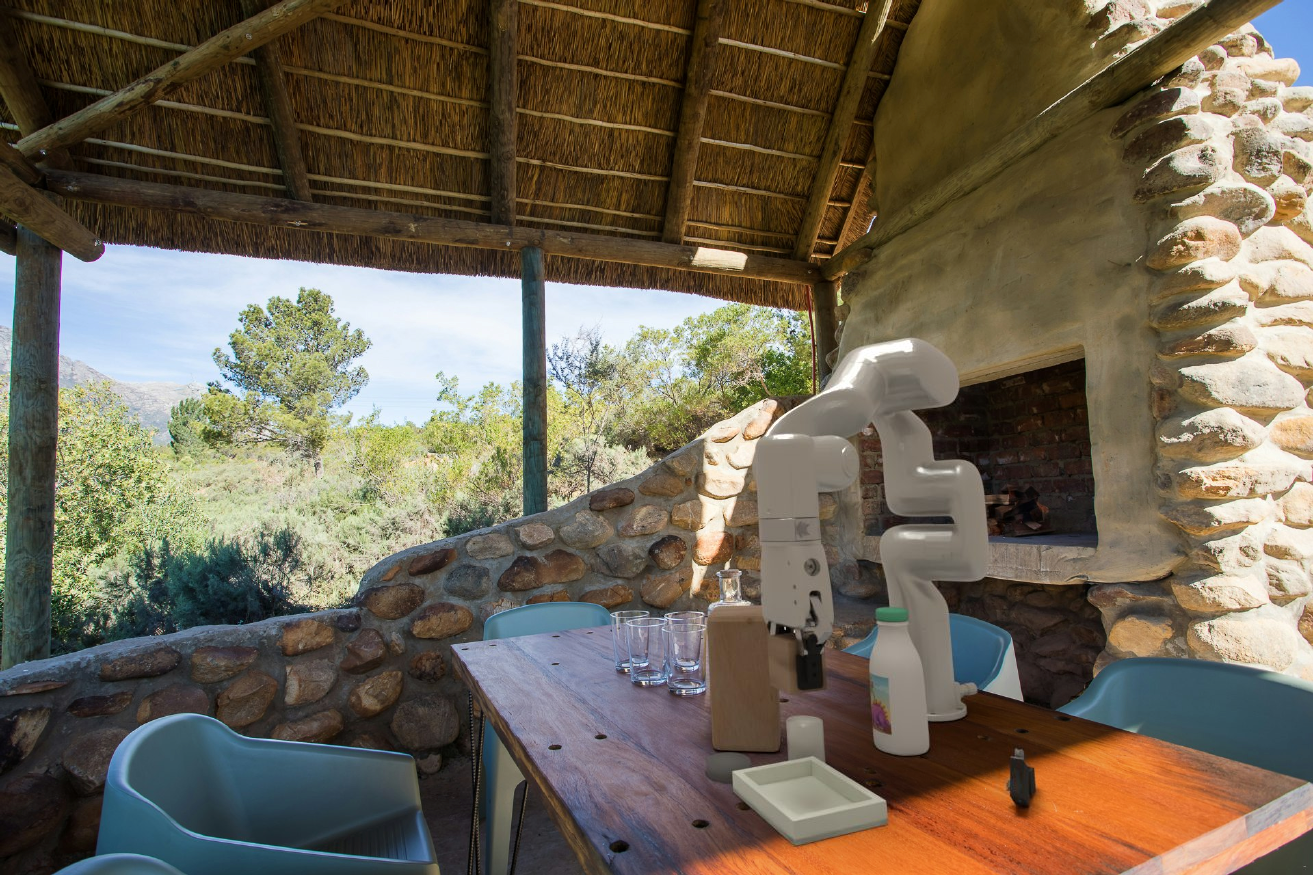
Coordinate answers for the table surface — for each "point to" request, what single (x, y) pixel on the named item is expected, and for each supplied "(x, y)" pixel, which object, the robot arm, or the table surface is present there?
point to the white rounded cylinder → (805, 737)
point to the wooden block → (741, 681)
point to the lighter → (1020, 780)
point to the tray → (809, 800)
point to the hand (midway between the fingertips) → (797, 681)
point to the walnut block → (787, 663)
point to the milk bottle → (897, 687)
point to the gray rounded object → (726, 766)
